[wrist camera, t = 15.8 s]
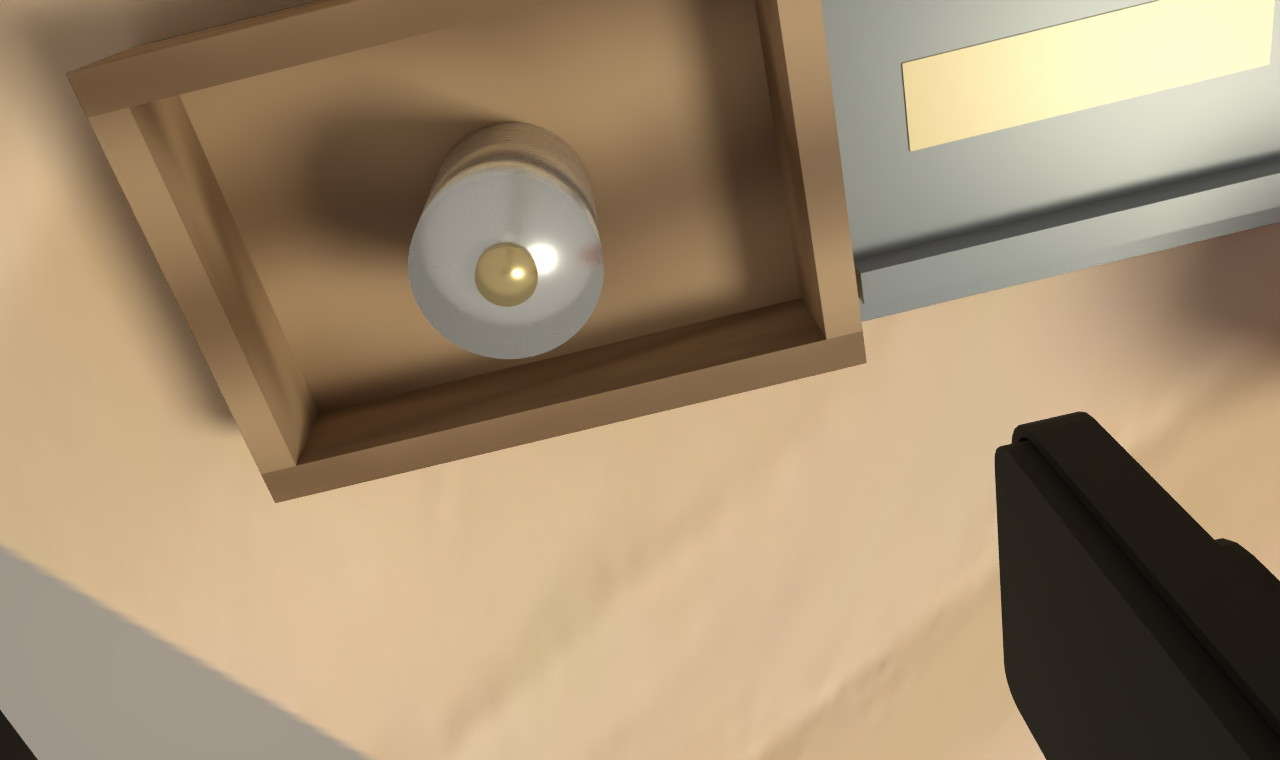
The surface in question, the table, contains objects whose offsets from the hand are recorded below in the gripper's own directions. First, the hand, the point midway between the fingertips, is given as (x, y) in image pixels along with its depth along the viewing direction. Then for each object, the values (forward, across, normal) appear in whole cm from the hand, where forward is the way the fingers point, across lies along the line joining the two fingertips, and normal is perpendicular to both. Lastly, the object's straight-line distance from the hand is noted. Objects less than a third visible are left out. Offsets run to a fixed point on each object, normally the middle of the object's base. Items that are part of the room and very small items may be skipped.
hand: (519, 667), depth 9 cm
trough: (+21, +1, +1) cm, 21 cm away
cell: (+20, +1, +1) cm, 20 cm away
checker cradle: (+21, -15, +1) cm, 25 cm away
